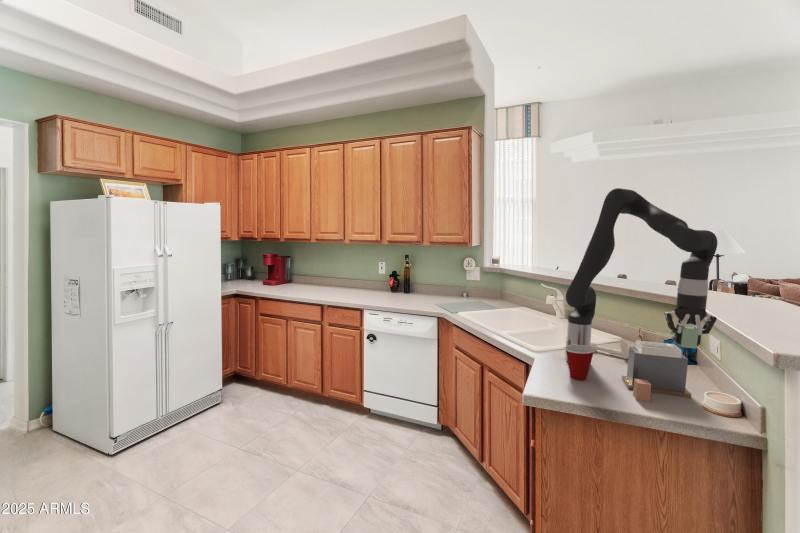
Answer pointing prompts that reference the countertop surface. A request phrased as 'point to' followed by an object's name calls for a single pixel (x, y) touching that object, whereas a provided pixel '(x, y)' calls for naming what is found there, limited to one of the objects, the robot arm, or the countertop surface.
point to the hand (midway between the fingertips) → (686, 344)
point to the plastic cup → (579, 360)
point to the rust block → (642, 390)
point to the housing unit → (658, 368)
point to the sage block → (689, 337)
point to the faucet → (613, 351)
